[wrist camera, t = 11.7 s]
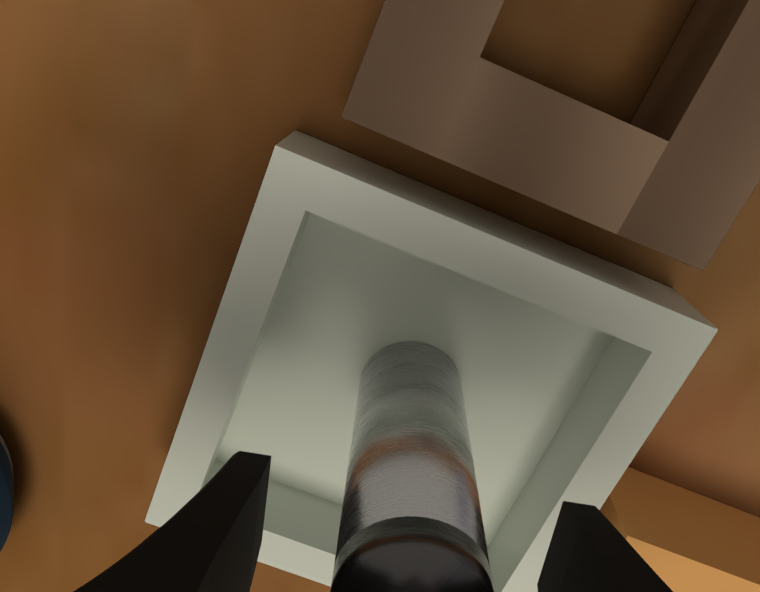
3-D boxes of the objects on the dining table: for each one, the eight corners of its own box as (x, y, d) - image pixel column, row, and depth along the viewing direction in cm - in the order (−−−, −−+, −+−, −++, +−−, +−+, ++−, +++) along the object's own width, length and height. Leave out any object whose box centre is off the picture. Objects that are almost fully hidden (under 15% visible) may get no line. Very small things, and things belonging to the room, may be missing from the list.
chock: (775, 520, 19) (852, 619, 16) (698, 617, 20) (755, 726, 17) (588, 448, 18) (627, 535, 15) (522, 553, 20) (546, 654, 16)
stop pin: (471, 351, 16) (516, 570, 10) (449, 438, 17) (475, 692, 11) (369, 332, 16) (341, 539, 10) (352, 421, 17) (315, 666, 11)
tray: (674, 289, 16) (718, 329, 14) (496, 576, 20) (507, 648, 17) (295, 129, 15) (275, 145, 13) (177, 462, 19) (144, 521, 16)
